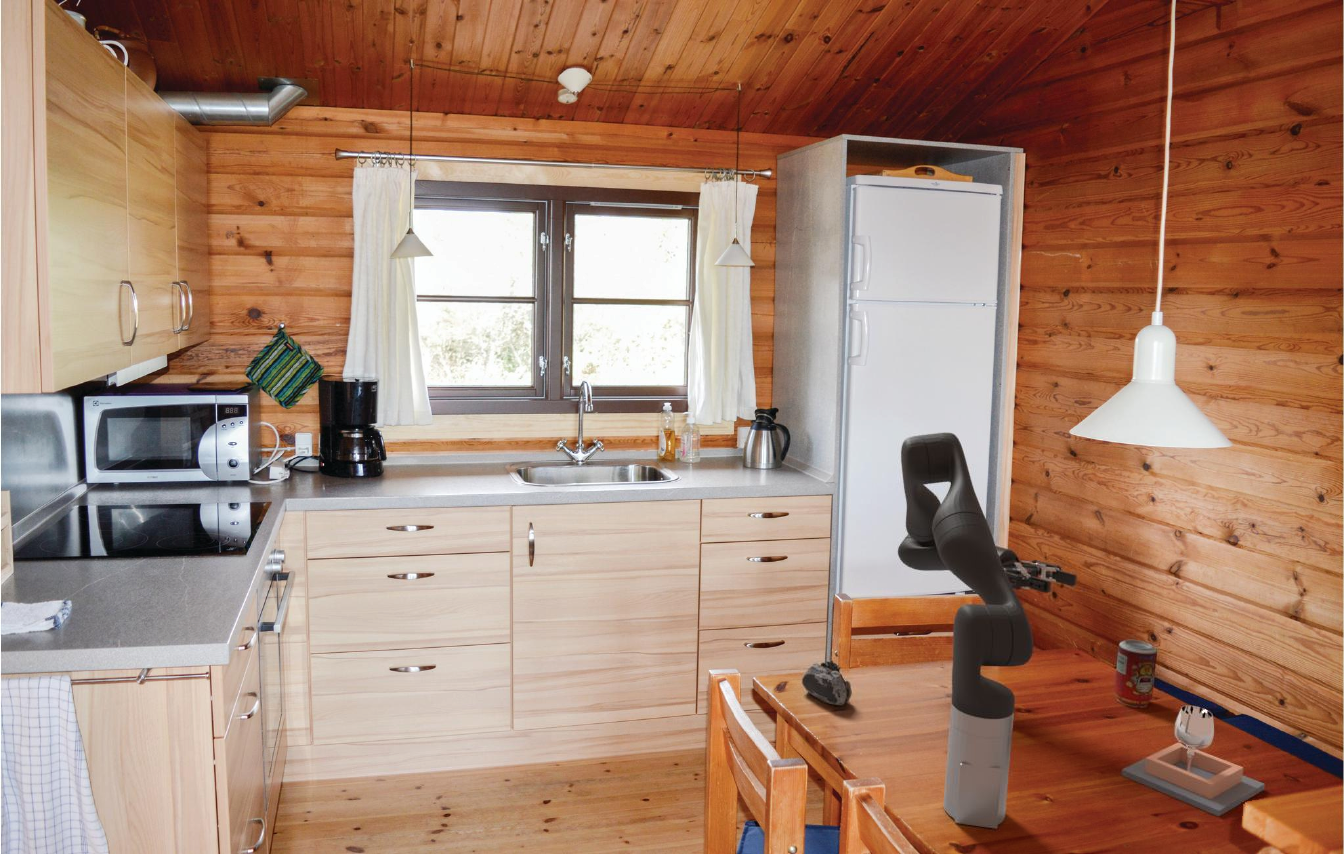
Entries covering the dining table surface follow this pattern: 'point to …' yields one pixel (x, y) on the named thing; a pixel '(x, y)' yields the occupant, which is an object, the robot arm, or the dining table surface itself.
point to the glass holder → (1195, 779)
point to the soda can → (1135, 673)
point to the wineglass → (1194, 729)
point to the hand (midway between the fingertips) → (1062, 583)
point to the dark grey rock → (827, 683)
